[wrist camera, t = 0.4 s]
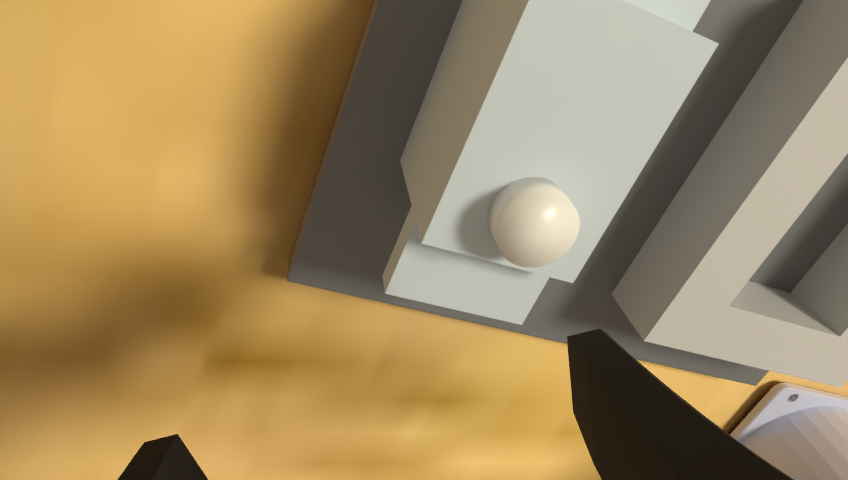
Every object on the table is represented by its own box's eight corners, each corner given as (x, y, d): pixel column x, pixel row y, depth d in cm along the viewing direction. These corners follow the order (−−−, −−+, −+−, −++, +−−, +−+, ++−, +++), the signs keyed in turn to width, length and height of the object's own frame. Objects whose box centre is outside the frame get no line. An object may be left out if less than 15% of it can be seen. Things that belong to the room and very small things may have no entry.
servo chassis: (1050, 3, 18) (1192, 25, 15) (741, 369, 25) (796, 433, 22) (486, -351, 12) (538, -429, 9) (288, 263, 19) (281, 332, 16)
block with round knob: (664, -86, 14) (824, -73, 10) (490, 254, 19) (542, 371, 14) (524, -159, 13) (630, -185, 8) (375, 223, 18) (391, 341, 13)
